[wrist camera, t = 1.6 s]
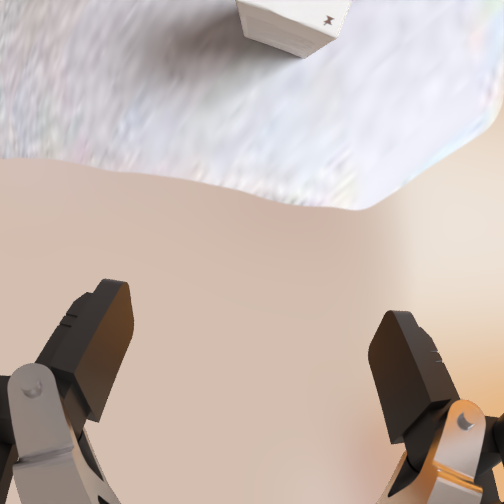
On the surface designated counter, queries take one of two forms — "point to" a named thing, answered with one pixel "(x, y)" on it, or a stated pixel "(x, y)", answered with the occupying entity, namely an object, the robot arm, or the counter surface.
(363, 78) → the counter surface
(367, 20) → the counter surface
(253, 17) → the skincare box
